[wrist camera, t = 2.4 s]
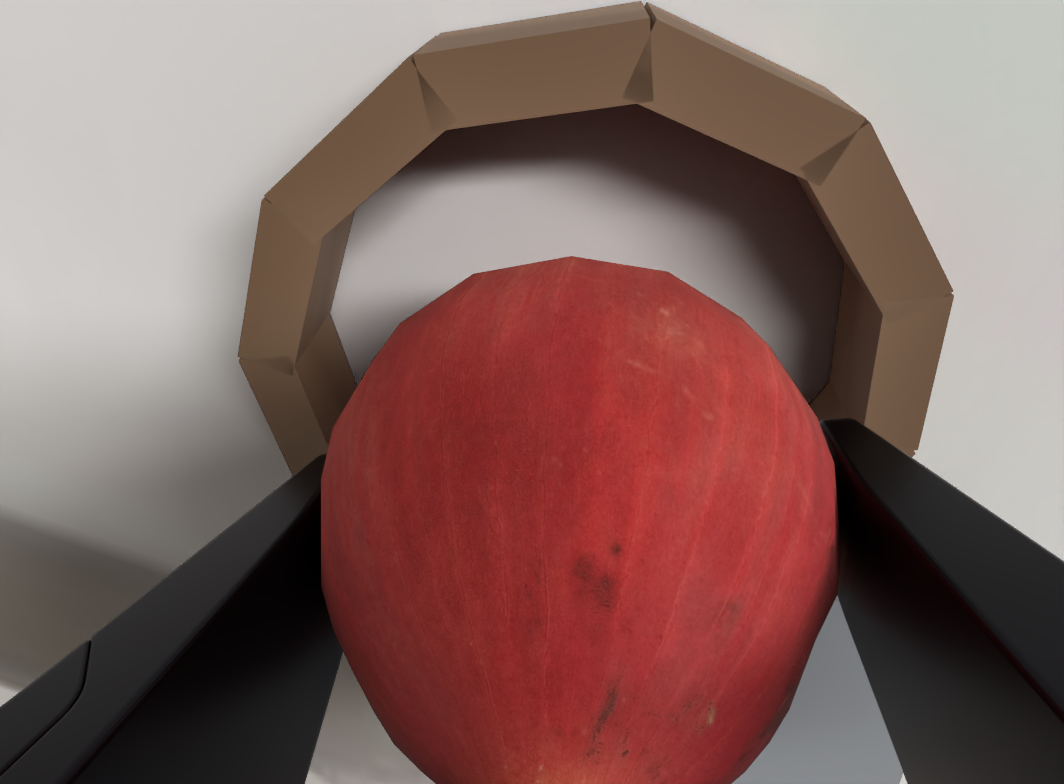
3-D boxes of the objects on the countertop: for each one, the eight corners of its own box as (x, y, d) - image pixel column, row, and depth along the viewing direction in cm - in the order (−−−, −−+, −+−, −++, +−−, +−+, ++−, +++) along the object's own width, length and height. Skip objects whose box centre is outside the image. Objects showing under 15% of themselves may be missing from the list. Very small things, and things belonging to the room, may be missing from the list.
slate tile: (939, 556, 13) (962, 598, 12) (879, 759, 18) (893, 800, 17) (492, 573, 14) (485, 612, 14) (542, 758, 19) (540, 796, 18)
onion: (844, 306, 10) (1276, 991, 4) (619, 520, 13) (641, 1101, 7) (520, 84, 9) (303, 572, 2) (350, 381, 12) (49, 955, 5)
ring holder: (958, -50, 8) (1033, -42, 6) (852, 535, 13) (881, 604, 12) (184, 74, 9) (116, 101, 8) (382, 555, 14) (360, 619, 13)
